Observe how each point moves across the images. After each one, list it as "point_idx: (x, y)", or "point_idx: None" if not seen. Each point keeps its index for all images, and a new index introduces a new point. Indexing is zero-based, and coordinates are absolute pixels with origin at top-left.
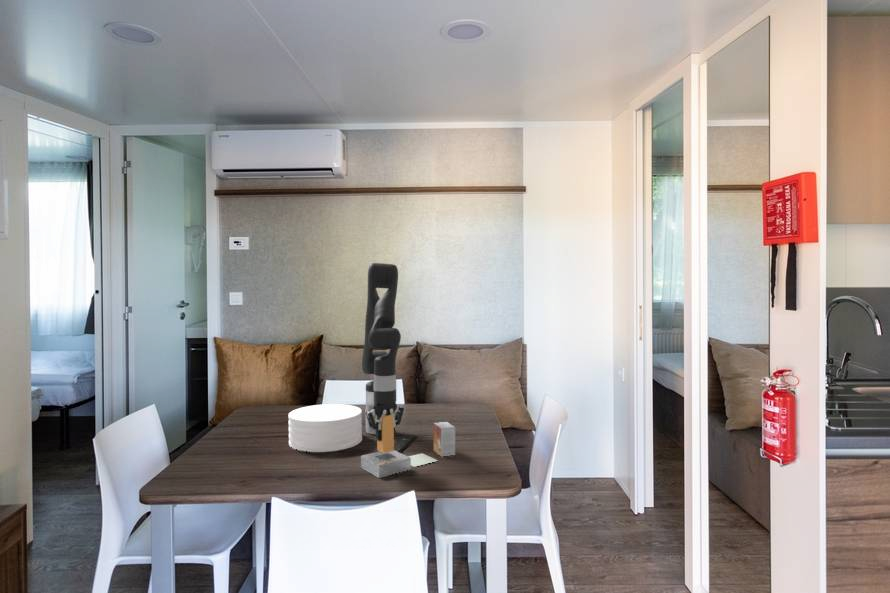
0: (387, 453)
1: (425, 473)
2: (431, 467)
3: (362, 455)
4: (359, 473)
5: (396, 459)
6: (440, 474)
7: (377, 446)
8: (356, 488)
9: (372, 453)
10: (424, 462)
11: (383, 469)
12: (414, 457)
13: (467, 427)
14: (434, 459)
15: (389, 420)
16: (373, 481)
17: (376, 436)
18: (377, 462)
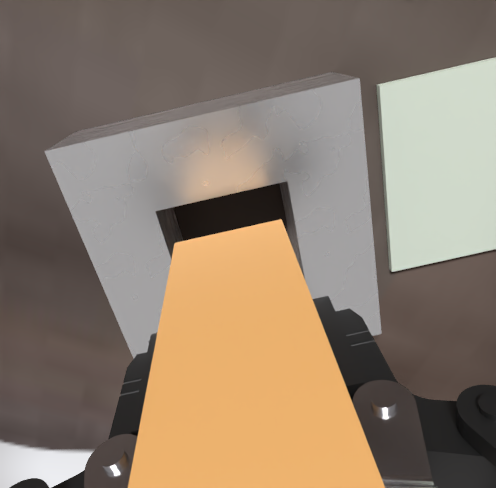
0: (277, 182)
1: (395, 356)
2: (471, 295)
3: (59, 149)
4: (54, 233)
5: None
6: (447, 387)
7: (172, 262)
8: (21, 410)
9: (156, 133)
10: (482, 231)
11: None
12: (491, 110)
13: None
14: None
15: None
16: (117, 364)
17: (134, 385)
18: (148, 338)
